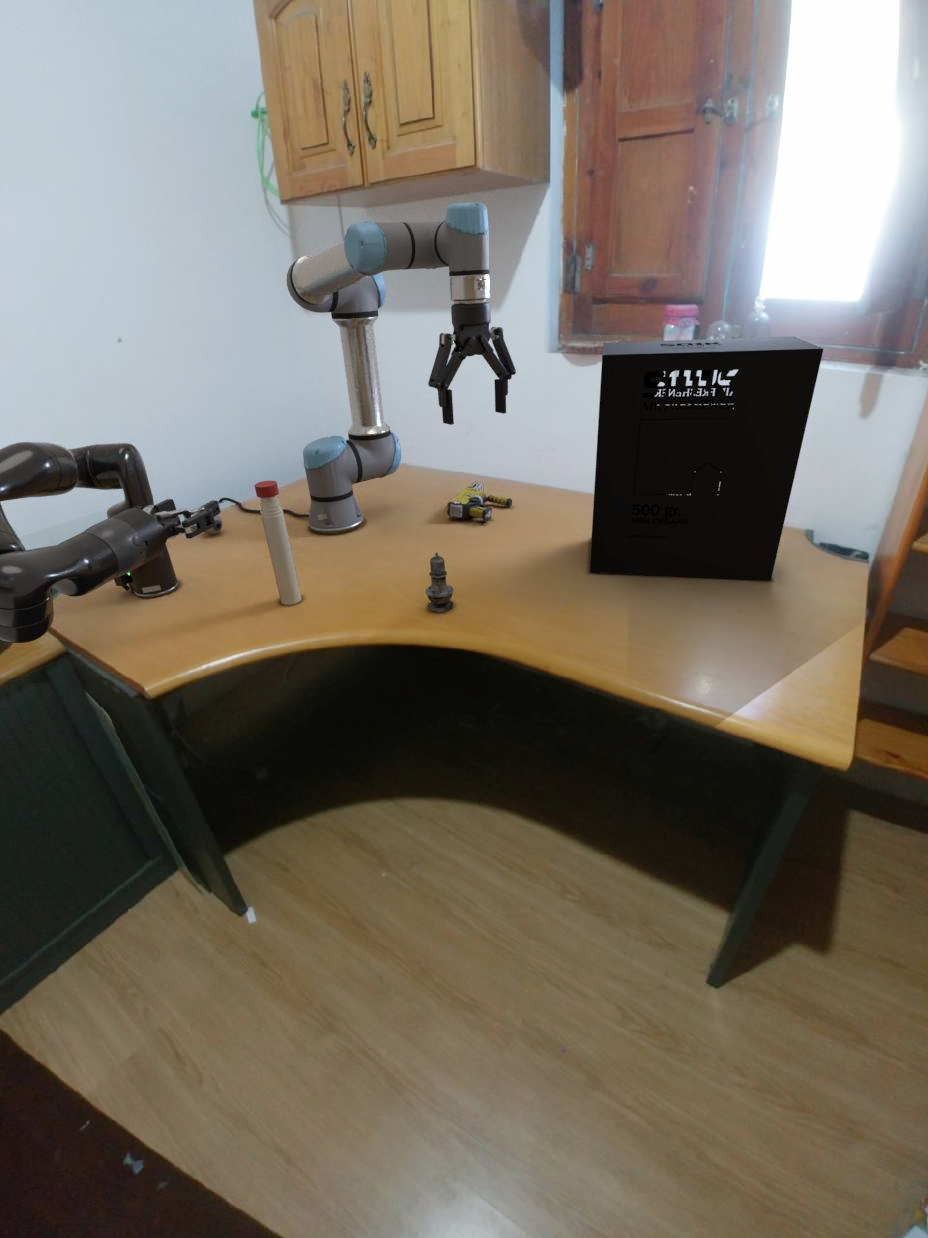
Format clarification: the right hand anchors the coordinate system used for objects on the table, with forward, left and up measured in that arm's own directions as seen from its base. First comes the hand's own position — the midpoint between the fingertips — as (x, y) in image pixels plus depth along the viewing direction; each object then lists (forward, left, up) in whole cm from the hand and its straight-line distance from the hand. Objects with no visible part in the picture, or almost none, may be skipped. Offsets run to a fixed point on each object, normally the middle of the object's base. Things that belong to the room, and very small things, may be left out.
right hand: (475, 417), depth 124 cm
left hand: (0, -58, -4) cm, 58 cm away
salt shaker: (+10, -18, -34) cm, 40 cm away
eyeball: (-67, -42, -34) cm, 86 cm away
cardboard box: (+27, +36, -34) cm, 56 cm away
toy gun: (-30, +25, -34) cm, 52 cm away
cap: (-15, -41, -8) cm, 44 cm away
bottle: (-15, -41, -34) cm, 55 cm away
